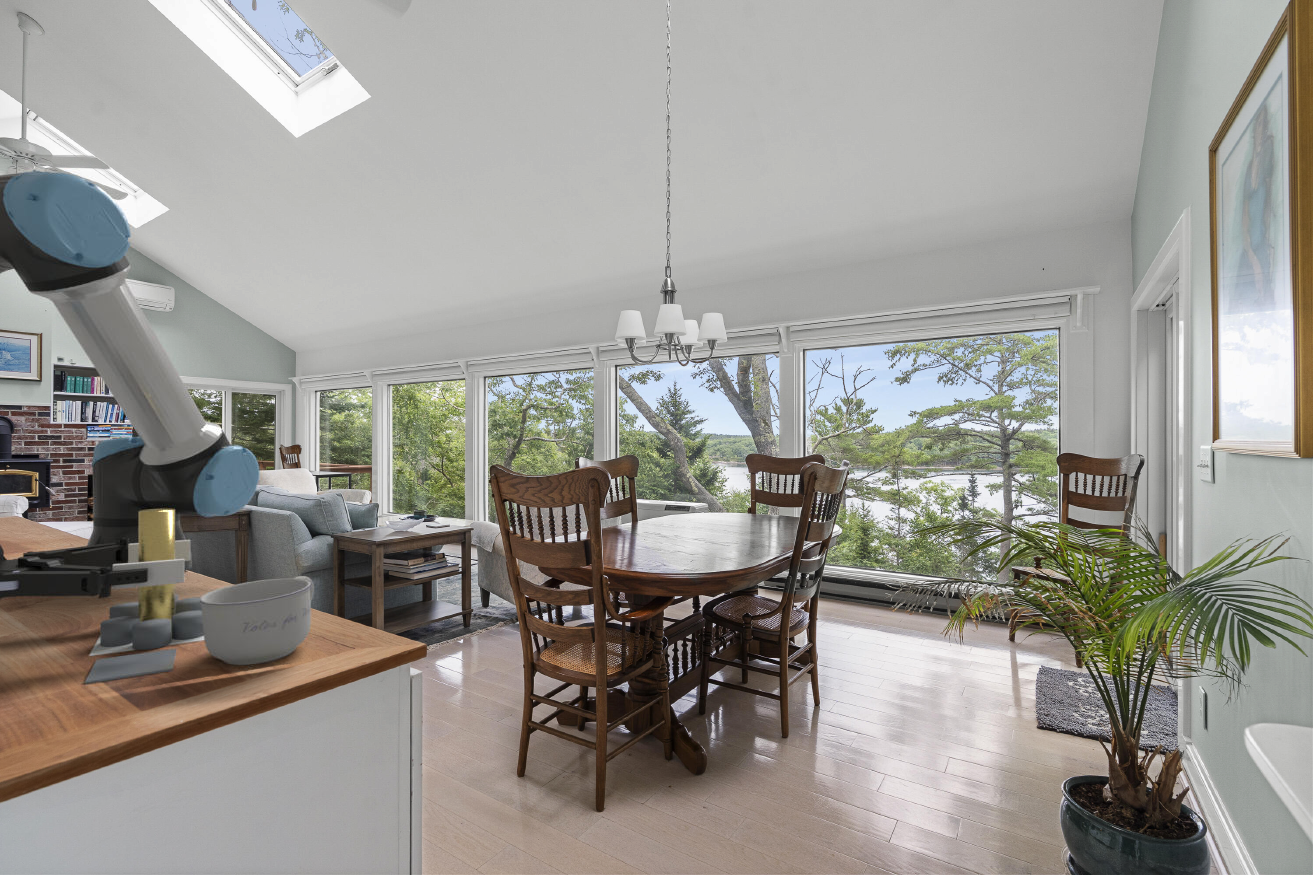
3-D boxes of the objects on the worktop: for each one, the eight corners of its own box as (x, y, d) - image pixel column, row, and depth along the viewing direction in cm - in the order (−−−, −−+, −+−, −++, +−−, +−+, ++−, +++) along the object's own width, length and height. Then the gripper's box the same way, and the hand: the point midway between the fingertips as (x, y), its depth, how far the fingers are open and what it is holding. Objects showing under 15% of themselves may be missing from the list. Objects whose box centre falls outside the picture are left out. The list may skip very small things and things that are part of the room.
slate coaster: (96, 664, 71) (96, 659, 71) (176, 653, 75) (176, 648, 75) (85, 687, 65) (85, 681, 65) (172, 673, 69) (172, 668, 69)
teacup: (247, 681, 68) (247, 605, 67) (175, 665, 71) (176, 593, 71) (352, 640, 81) (353, 575, 80) (287, 628, 84) (288, 567, 84)
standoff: (140, 628, 82) (140, 509, 81) (175, 624, 84) (176, 507, 83) (136, 636, 79) (137, 513, 78) (173, 632, 81) (174, 511, 80)
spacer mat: (110, 620, 86) (110, 598, 86) (211, 608, 92) (211, 588, 92) (87, 661, 72) (87, 635, 72) (208, 644, 78) (208, 620, 78)
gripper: (-16, 586, 82) (192, 569, 93) (-101, 647, 61) (181, 614, 72) (-17, 527, 81) (192, 516, 93) (-101, 567, 61) (181, 547, 72)
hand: (187, 559), depth 83 cm, fingers open, 13 cm apart
